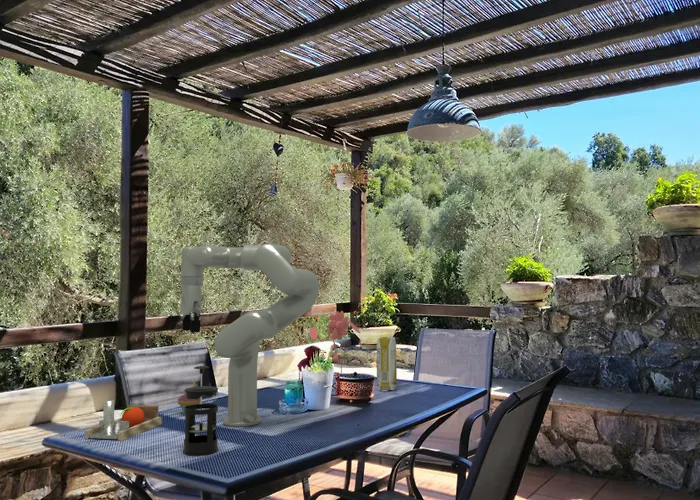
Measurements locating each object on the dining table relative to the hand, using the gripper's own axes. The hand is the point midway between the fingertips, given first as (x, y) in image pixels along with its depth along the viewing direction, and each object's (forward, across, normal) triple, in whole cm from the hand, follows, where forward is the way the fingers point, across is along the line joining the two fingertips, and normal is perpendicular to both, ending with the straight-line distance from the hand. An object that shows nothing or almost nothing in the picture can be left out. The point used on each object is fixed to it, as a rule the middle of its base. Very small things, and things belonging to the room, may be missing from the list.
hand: (191, 331), depth 207 cm
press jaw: (+30, +13, -28) cm, 43 cm away
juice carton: (+29, -11, +90) cm, 95 cm away
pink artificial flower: (+30, -14, +68) cm, 75 cm away
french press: (+30, +43, -10) cm, 53 cm away
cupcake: (+30, -9, +3) cm, 32 cm away
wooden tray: (+30, +8, -22) cm, 38 cm away
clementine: (+30, +5, -20) cm, 37 cm away
